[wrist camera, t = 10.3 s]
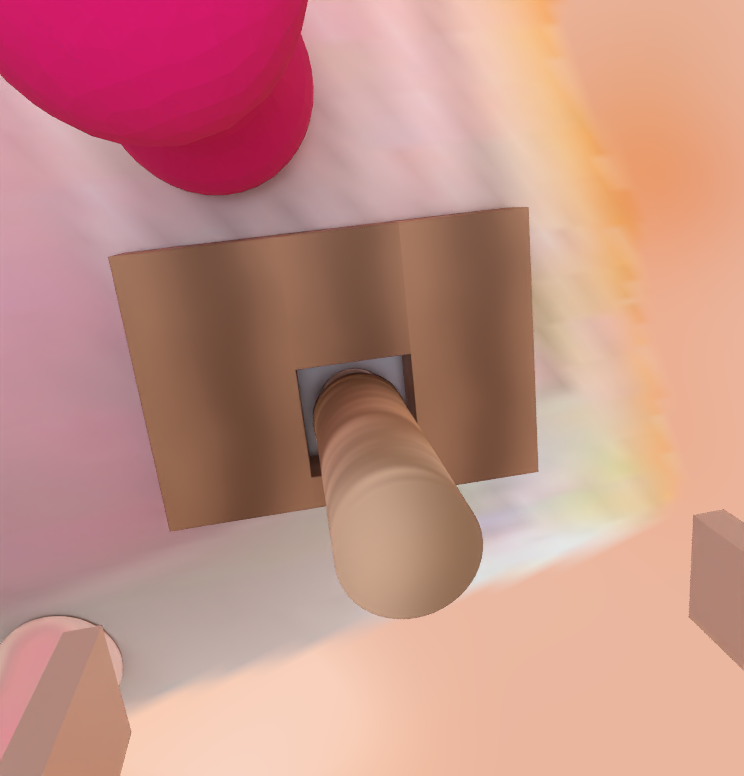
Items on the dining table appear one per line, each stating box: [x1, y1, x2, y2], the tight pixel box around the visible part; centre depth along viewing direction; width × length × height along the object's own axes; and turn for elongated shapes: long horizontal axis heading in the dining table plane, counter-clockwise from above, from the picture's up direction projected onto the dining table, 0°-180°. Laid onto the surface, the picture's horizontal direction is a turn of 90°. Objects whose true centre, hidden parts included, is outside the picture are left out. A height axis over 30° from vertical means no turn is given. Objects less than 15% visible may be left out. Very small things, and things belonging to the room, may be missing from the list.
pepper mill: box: [0, 0, 313, 195], centre depth 16 cm, size 7×7×20 cm
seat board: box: [108, 207, 538, 531], centre depth 28 cm, size 17×12×2 cm
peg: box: [313, 369, 483, 619], centre depth 23 cm, size 4×4×14 cm
